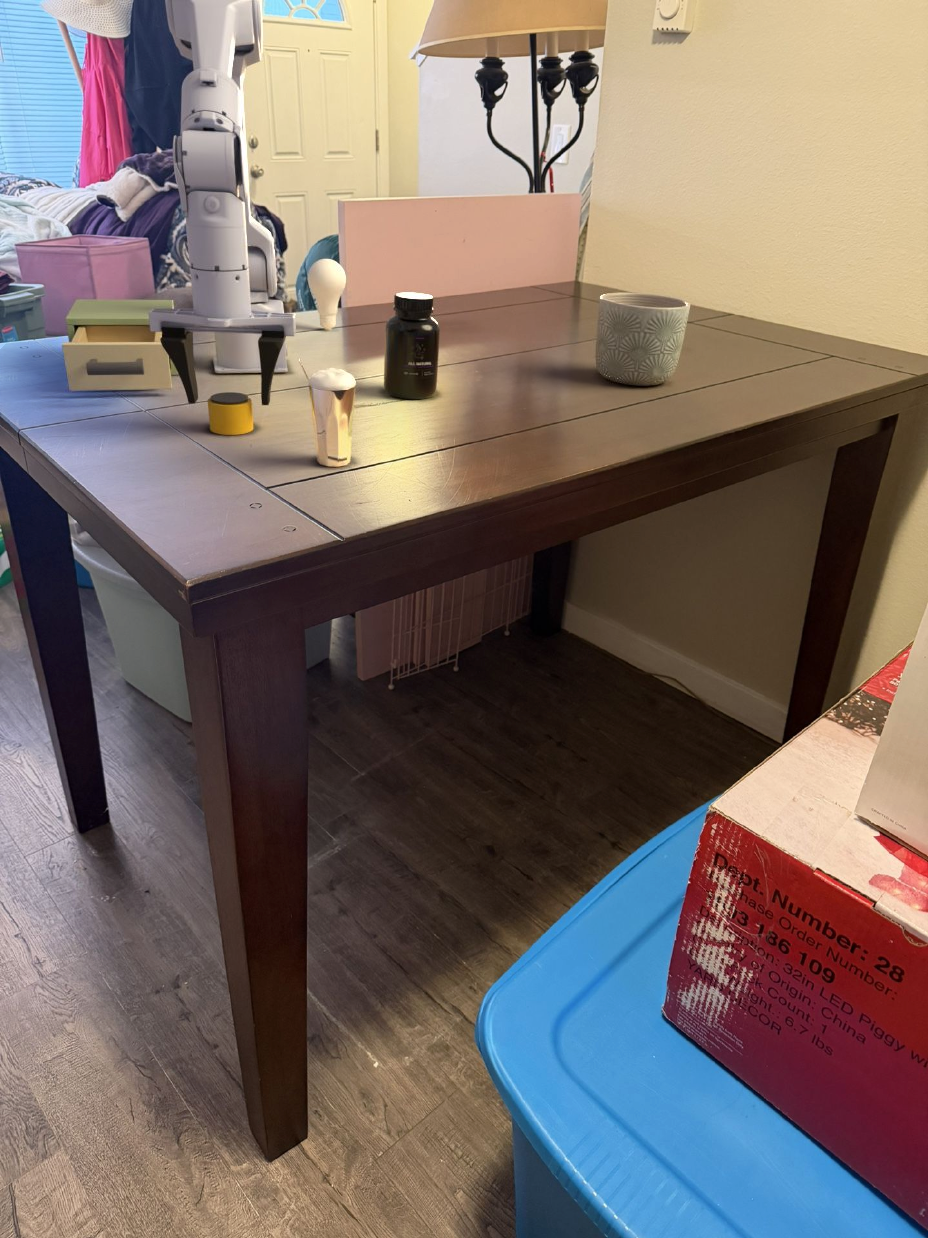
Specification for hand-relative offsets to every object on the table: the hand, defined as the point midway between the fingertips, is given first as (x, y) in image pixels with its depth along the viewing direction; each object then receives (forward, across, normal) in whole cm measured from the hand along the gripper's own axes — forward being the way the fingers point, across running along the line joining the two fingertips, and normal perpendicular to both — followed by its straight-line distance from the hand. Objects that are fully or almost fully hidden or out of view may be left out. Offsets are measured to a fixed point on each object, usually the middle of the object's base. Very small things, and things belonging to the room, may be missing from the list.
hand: (229, 401), depth 94 cm
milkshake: (+3, +11, -10) cm, 15 cm away
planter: (+3, +53, +28) cm, 60 cm away
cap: (+3, 0, 0) cm, 3 cm away
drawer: (+2, -15, +15) cm, 22 cm away
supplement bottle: (+3, +20, +17) cm, 27 cm away
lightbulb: (+3, +8, +55) cm, 56 cm away
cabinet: (+3, -17, +28) cm, 33 cm away
